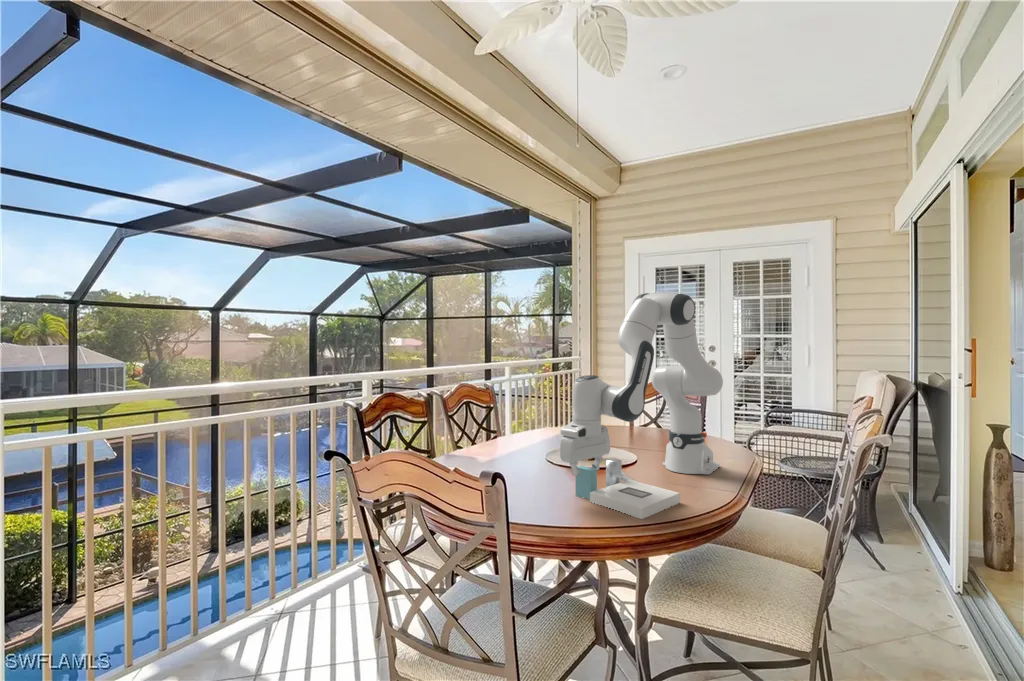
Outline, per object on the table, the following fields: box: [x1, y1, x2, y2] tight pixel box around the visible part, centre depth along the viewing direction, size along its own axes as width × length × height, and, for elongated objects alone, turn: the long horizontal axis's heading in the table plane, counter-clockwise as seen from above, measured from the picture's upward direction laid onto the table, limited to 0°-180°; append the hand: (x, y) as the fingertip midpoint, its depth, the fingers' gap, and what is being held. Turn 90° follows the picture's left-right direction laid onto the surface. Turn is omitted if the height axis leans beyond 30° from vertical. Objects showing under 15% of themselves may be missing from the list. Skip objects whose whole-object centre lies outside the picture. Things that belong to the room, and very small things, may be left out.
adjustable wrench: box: [622, 470, 639, 482], centre depth 163 cm, size 25×6×2 cm, turn 15°
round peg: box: [605, 458, 623, 487], centre depth 158 cm, size 5×5×9 cm
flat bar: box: [575, 464, 598, 500], centre depth 149 cm, size 3×6×9 cm, turn 41°
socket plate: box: [589, 480, 681, 520], centre depth 144 cm, size 20×18×3 cm
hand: (586, 472), depth 149 cm, fingers open, 8 cm apart
